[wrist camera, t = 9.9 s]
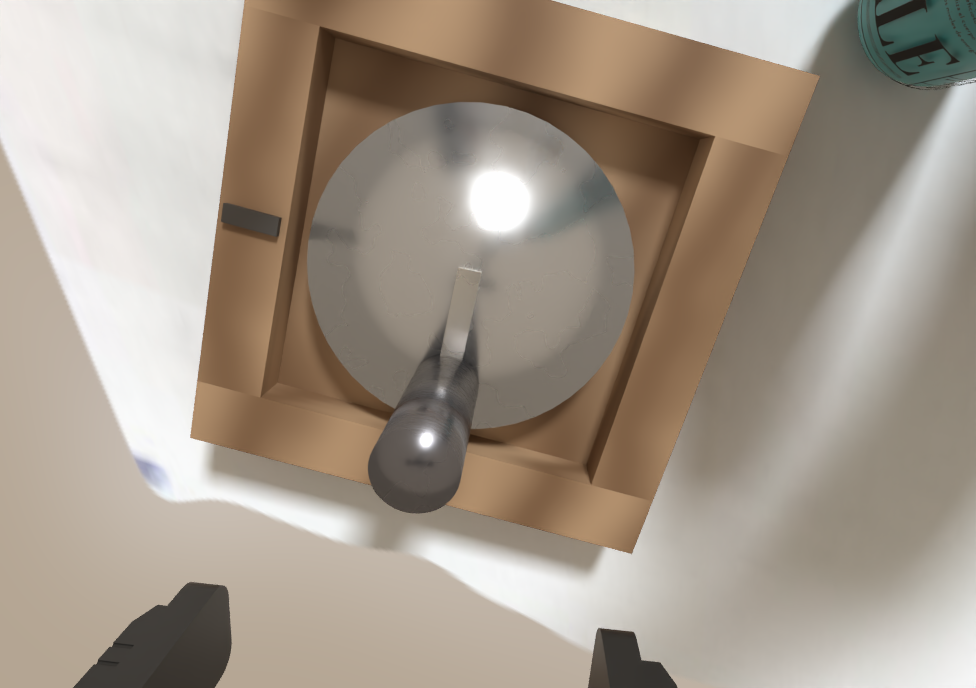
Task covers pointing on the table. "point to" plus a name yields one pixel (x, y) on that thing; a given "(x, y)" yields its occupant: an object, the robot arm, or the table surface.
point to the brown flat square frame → (570, 108)
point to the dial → (466, 282)
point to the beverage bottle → (920, 40)
